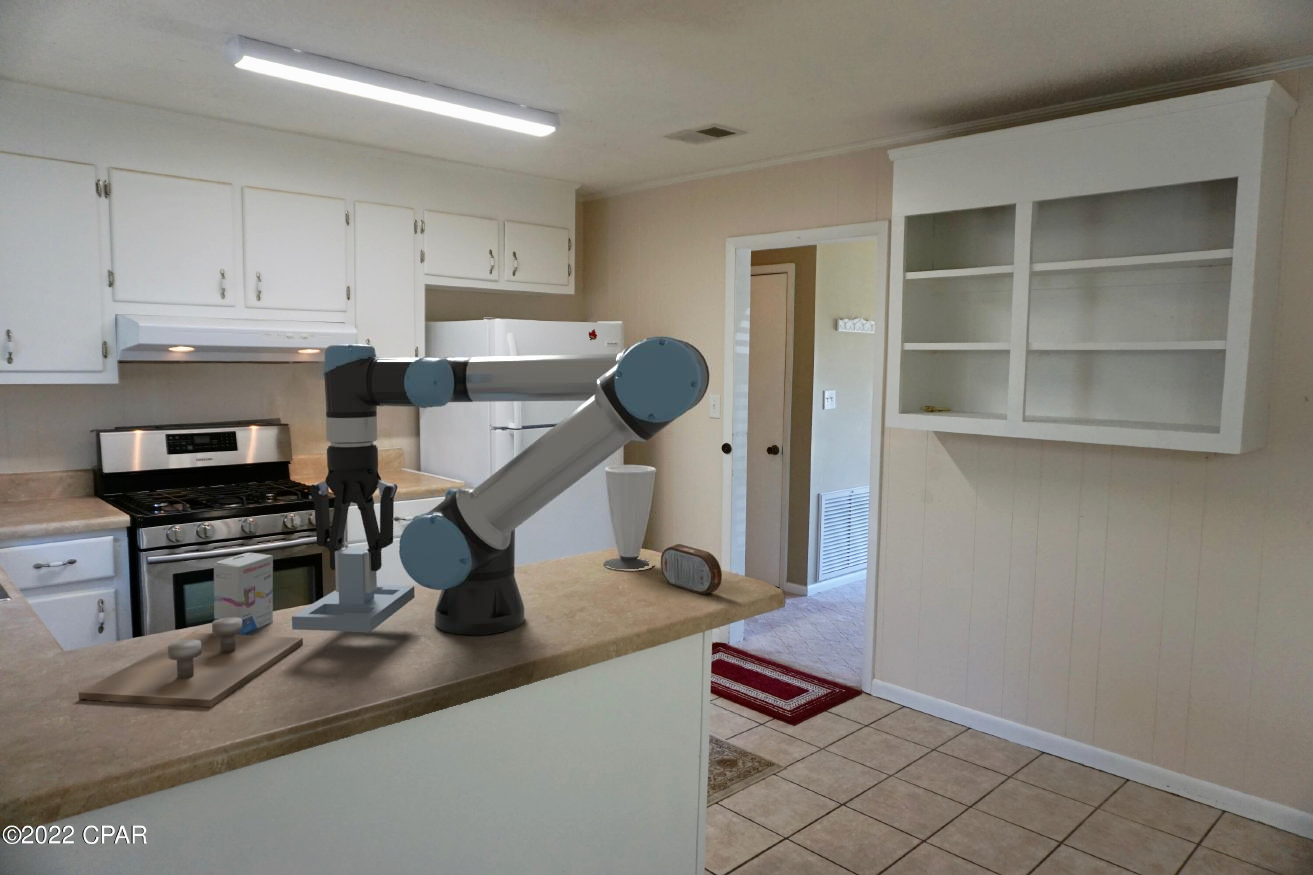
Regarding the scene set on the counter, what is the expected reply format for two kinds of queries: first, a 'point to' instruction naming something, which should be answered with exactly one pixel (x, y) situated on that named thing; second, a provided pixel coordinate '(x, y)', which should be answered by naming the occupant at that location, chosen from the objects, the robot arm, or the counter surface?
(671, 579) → the tin
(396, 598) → the panel
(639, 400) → the robot arm
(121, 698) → the boss board
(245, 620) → the ink box
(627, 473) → the cup
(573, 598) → the counter surface
